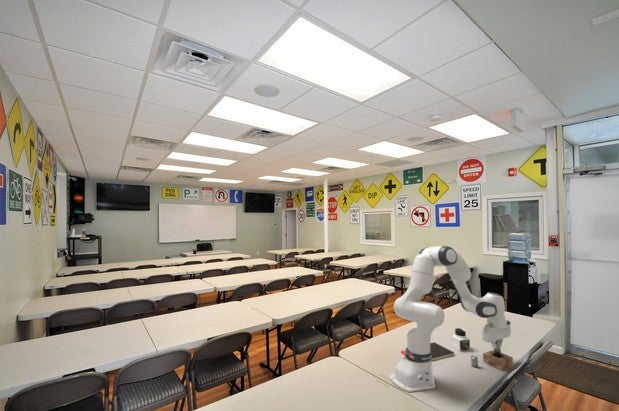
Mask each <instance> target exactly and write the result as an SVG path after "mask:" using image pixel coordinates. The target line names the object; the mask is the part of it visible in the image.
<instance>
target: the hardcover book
mask: <svg viewBox="0 0 619 411" xmlns="http://www.w3.org/2000/svg"><path fill="white" fill-rule="evenodd" d="M406 349H407V347H406V348H405V350H406ZM430 350H431V355H432V359H431V362H433V361H436V360H441V359H444V358H448V357H449V358H450V357H453V356H454V355H455V352H454V351H452V350H450V349H448V348H446V347H445V346H442V345H441V344H439V343H436V342H430Z"/></svg>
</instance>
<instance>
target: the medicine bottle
mask: <svg viewBox="0 0 619 411" xmlns="http://www.w3.org/2000/svg"><path fill="white" fill-rule="evenodd" d="M454 332H455V334H453V335H452V336H451V341H452V342H451V344H452V348H455V350H457V351H459V352H468V351H470V350H471V347H470V346H471V344H470V342H471V341H470V340H471V339H470V338H469V337H467V330H465V329H464V328H460V327H458V328H455V329H454Z"/></svg>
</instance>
